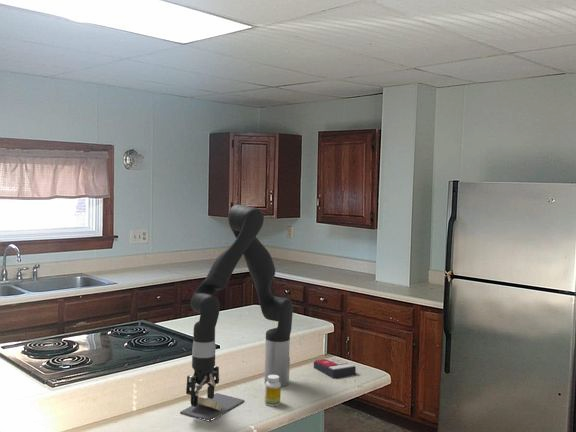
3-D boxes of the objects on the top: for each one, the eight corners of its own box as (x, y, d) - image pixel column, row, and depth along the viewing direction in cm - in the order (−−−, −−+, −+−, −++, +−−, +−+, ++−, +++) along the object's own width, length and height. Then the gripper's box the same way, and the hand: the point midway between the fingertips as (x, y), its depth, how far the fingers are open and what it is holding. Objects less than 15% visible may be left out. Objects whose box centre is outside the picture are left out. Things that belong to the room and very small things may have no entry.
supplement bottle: (262, 401, 198) (263, 374, 198) (276, 399, 200) (277, 373, 200) (268, 407, 193) (269, 379, 193) (282, 405, 196) (283, 378, 195)
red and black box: (335, 356, 242) (356, 364, 229) (335, 366, 242) (356, 375, 229) (313, 359, 237) (333, 368, 224) (313, 370, 237) (333, 379, 224)
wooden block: (222, 404, 189) (213, 400, 184) (220, 410, 188) (211, 406, 183) (200, 398, 193) (191, 394, 188) (198, 405, 192) (189, 400, 188)
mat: (216, 394, 204) (216, 392, 204) (244, 401, 198) (244, 400, 198) (180, 413, 186) (180, 411, 186) (209, 421, 180) (209, 420, 180)
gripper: (199, 361, 178) (198, 411, 179) (225, 350, 190) (224, 397, 191) (180, 356, 182) (179, 406, 182) (208, 346, 194) (206, 393, 195)
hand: (202, 402), depth 187 cm, fingers open, 8 cm apart
